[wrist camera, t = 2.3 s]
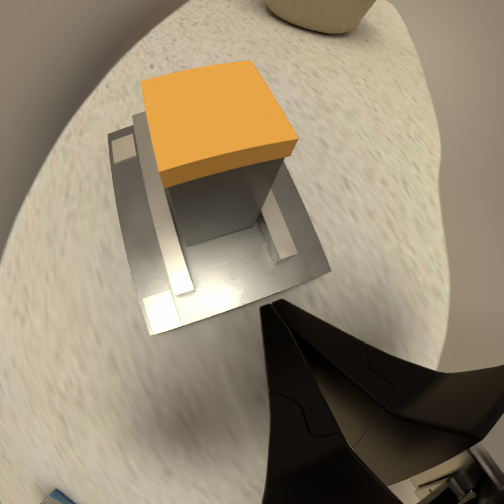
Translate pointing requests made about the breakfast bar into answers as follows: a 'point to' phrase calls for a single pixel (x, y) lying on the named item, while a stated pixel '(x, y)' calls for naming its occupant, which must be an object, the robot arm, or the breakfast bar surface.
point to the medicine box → (56, 498)
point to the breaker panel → (208, 252)
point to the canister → (321, 13)
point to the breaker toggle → (216, 145)
